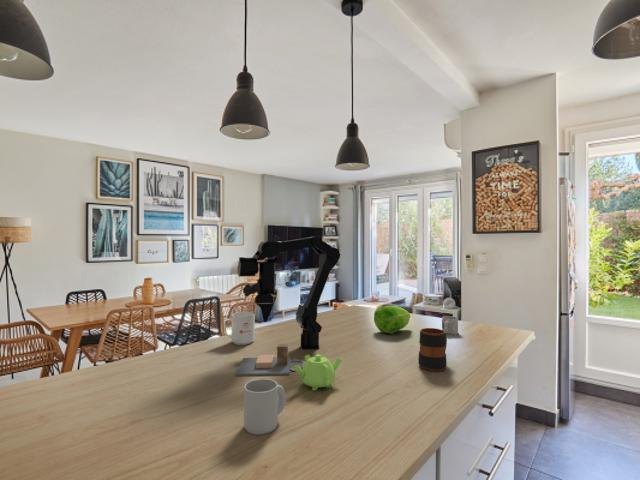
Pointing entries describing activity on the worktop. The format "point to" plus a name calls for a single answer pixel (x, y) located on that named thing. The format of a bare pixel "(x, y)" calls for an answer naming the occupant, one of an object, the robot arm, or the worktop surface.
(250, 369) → the mat
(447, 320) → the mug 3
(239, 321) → the mug
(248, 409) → the cup
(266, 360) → the tile
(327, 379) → the teapot
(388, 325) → the lettuce
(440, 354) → the mug
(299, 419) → the worktop surface
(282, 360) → the walnut block
